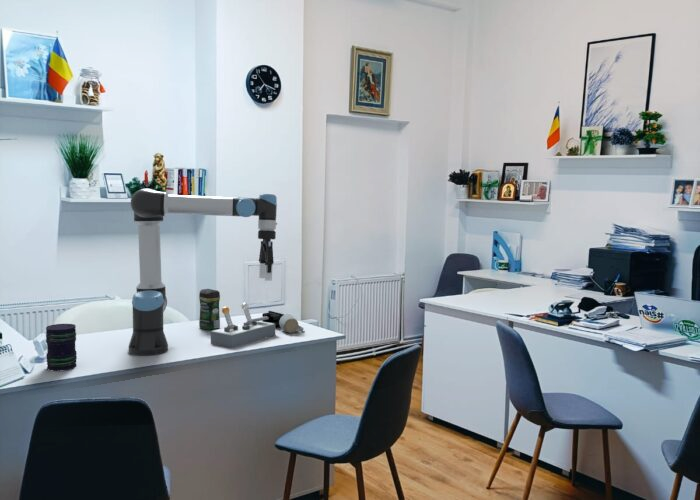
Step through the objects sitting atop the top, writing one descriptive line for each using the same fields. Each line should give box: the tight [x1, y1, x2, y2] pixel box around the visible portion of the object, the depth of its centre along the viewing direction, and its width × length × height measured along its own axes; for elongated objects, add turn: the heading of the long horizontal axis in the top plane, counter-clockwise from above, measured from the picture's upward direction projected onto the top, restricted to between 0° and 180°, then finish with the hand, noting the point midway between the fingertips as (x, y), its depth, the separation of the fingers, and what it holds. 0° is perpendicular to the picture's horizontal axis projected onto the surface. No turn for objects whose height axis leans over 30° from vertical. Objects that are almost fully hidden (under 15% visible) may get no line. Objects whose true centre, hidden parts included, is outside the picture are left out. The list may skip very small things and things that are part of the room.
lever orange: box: [221, 306, 236, 330], centre depth 264 cm, size 3×4×10 cm
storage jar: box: [45, 323, 78, 372], centre depth 223 cm, size 10×10×15 cm
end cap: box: [261, 310, 285, 329], centre depth 298 cm, size 10×7×7 cm
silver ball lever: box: [240, 302, 255, 325], centre depth 274 cm, size 3×4×10 cm
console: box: [210, 321, 276, 348], centre depth 271 cm, size 12×28×7 cm, turn 147°
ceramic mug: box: [279, 313, 305, 334], centre depth 287 cm, size 11×8×8 cm
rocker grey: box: [251, 316, 269, 321], centre depth 279 cm, size 6×4×1 cm
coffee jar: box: [198, 288, 221, 331], centre depth 290 cm, size 10×8×19 cm
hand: (265, 279), depth 267 cm, fingers open, 13 cm apart
